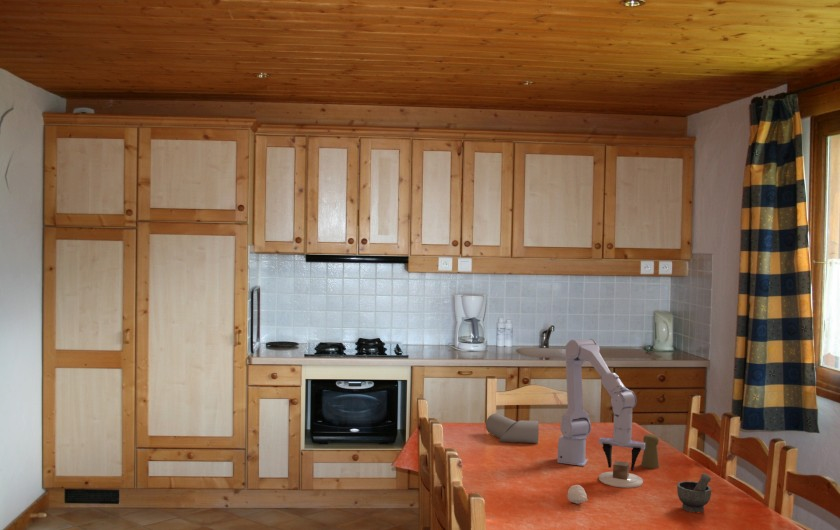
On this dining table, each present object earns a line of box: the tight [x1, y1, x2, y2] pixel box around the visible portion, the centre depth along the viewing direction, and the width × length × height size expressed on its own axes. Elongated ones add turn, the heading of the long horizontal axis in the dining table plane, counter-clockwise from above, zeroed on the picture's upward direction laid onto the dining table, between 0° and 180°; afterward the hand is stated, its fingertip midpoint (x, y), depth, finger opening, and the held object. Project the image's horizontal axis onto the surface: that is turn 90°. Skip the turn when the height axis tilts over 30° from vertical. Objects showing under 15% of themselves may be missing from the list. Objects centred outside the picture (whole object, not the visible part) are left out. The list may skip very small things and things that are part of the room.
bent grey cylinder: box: [485, 413, 540, 444], centre depth 305 cm, size 18×11×20 cm
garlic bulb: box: [567, 484, 588, 505], centre depth 232 cm, size 6×6×5 cm
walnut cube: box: [612, 460, 630, 480], centre depth 256 cm, size 4×4×4 cm
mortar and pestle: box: [676, 473, 712, 513], centre depth 230 cm, size 11×9×12 cm
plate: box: [598, 471, 644, 489], centre depth 256 cm, size 14×14×1 cm
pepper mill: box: [641, 434, 660, 470], centre depth 273 cm, size 6×6×11 cm
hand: (621, 468), depth 256 cm, fingers open, 7 cm apart
